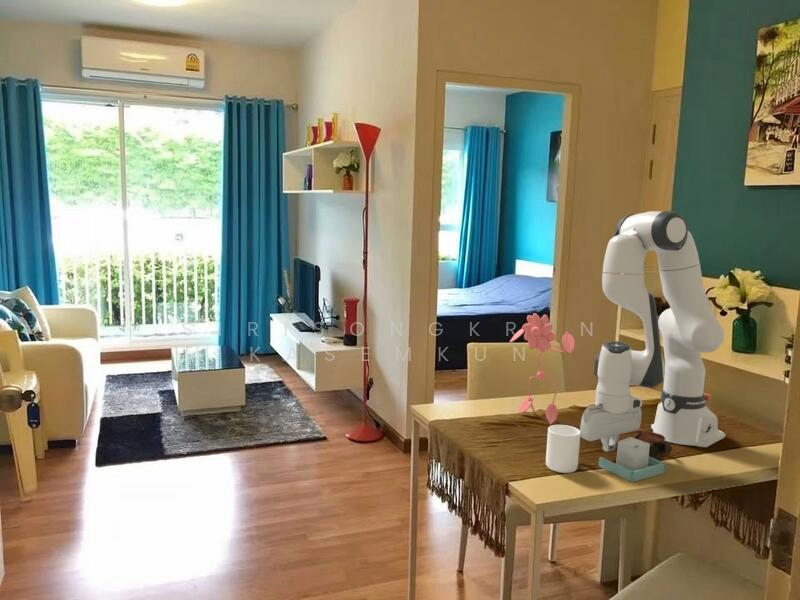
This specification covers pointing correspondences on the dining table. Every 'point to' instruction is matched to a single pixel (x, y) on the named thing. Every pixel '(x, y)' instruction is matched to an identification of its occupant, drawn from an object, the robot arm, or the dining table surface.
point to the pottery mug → (655, 444)
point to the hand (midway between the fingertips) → (608, 450)
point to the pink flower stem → (540, 339)
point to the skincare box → (632, 454)
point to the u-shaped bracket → (652, 470)
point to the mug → (562, 448)
